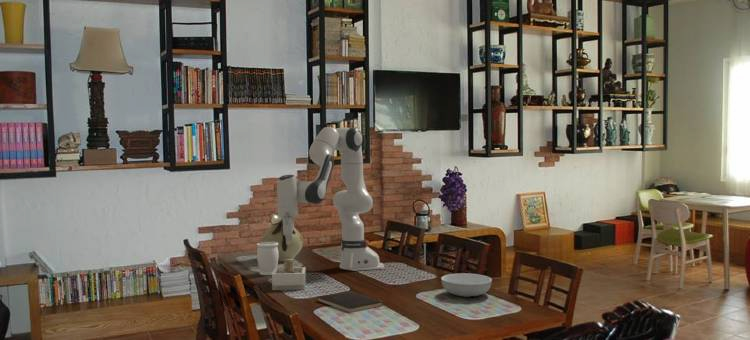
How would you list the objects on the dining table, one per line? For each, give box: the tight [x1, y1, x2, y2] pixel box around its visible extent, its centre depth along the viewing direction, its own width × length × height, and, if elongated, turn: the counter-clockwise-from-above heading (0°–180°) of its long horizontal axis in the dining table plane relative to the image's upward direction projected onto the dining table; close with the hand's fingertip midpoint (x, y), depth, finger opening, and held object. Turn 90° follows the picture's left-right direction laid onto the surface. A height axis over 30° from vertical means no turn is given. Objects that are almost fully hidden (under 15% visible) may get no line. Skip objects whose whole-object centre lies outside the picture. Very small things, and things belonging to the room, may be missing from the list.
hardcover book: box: [316, 290, 384, 313], centre depth 261 cm, size 16×23×2 cm
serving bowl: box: [440, 272, 493, 298], centre depth 273 cm, size 21×21×7 cm
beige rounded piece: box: [260, 212, 304, 263], centre depth 355 cm, size 22×24×25 cm
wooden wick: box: [283, 259, 295, 273], centre depth 292 cm, size 4×2×10 cm, turn 94°
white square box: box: [271, 266, 307, 291], centre depth 292 cm, size 14×14×7 cm
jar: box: [256, 242, 279, 276], centre depth 319 cm, size 11×10×15 cm
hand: (289, 242), depth 291 cm, fingers open, 8 cm apart
